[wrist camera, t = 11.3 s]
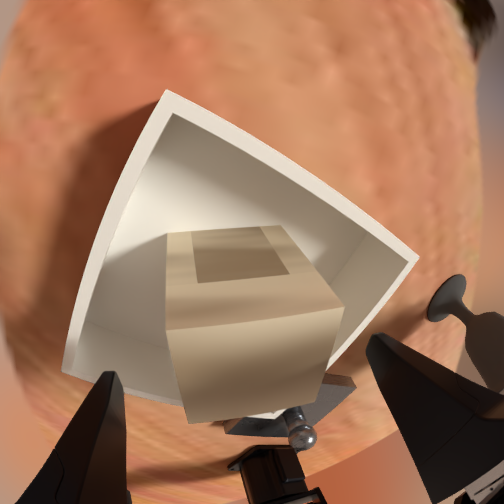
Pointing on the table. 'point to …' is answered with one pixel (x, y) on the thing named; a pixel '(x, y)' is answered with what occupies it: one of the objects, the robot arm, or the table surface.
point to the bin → (207, 218)
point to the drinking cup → (129, 498)
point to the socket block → (246, 322)
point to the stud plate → (296, 416)
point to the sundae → (474, 331)
